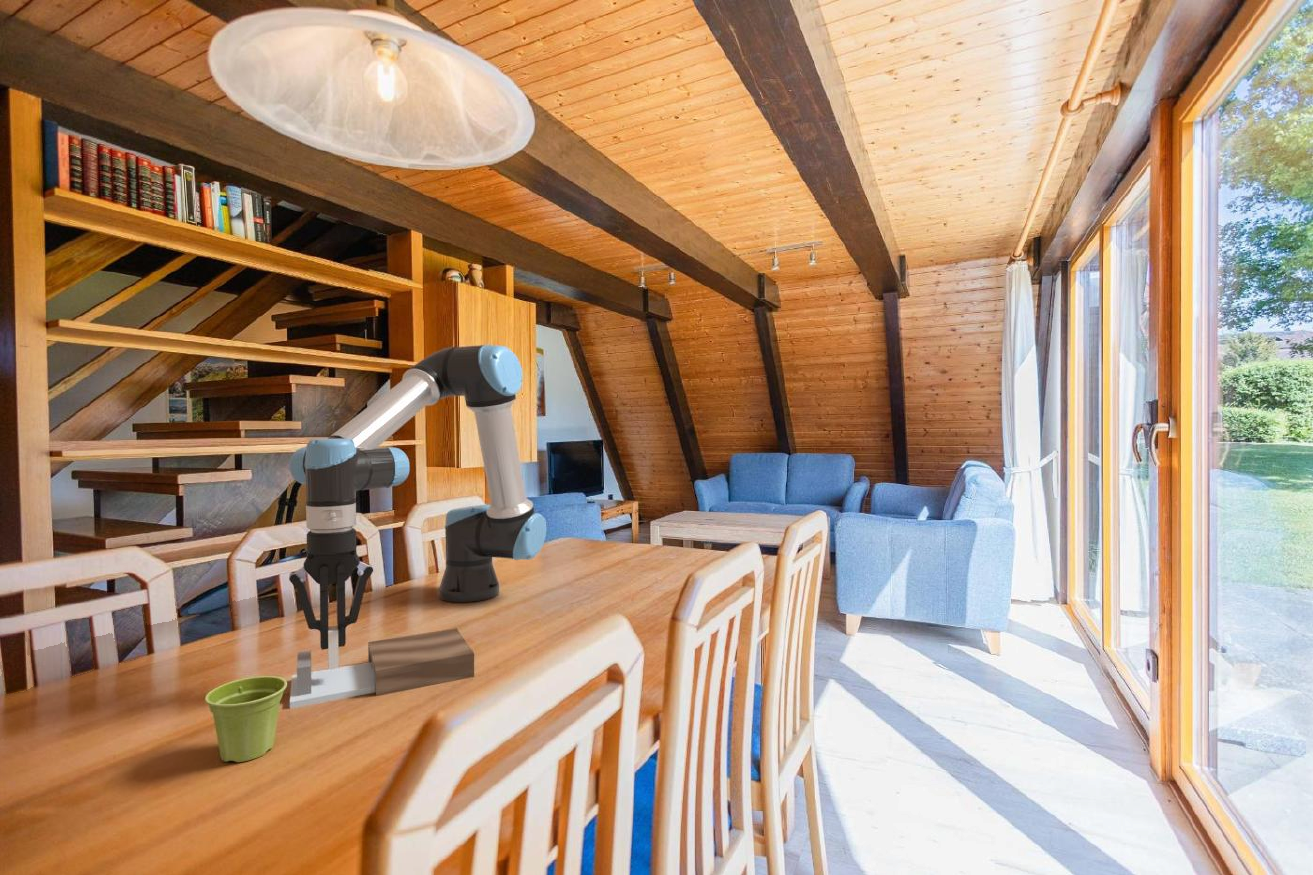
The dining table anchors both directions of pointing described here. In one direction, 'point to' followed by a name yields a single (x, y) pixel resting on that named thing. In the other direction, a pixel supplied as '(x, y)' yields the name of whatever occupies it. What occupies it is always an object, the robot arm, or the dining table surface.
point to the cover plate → (329, 682)
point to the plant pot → (246, 716)
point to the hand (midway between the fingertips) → (333, 666)
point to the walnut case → (420, 660)
